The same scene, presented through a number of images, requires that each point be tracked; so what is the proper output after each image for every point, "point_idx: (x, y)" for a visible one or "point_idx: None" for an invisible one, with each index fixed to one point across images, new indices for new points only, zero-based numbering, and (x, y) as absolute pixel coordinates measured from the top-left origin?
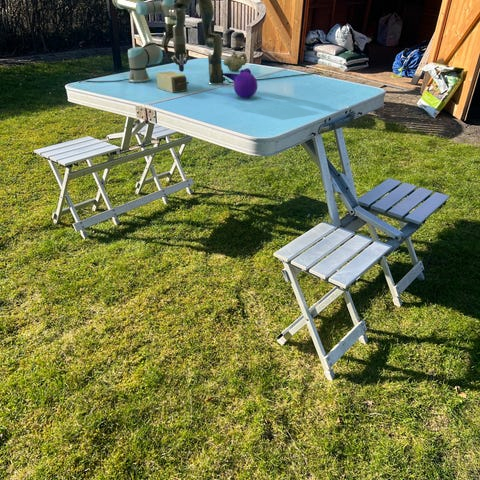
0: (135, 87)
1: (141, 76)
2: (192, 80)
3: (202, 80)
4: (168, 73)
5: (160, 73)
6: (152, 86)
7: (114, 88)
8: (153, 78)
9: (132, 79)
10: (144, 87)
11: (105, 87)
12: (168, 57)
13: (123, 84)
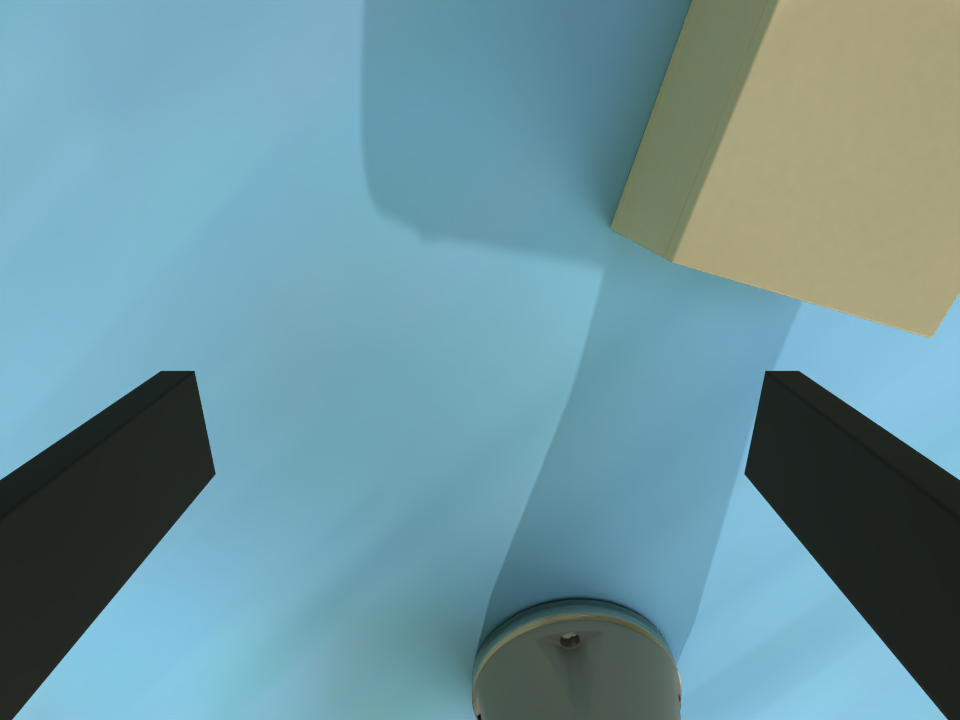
0: None
1: (634, 665)
2: (192, 228)
3: (89, 95)
4: (910, 99)
5: (952, 245)
6: (733, 403)
7: None
8: (401, 656)
9: (680, 695)
10: None
11: (931, 711)
12: (781, 375)
13: (762, 683)
